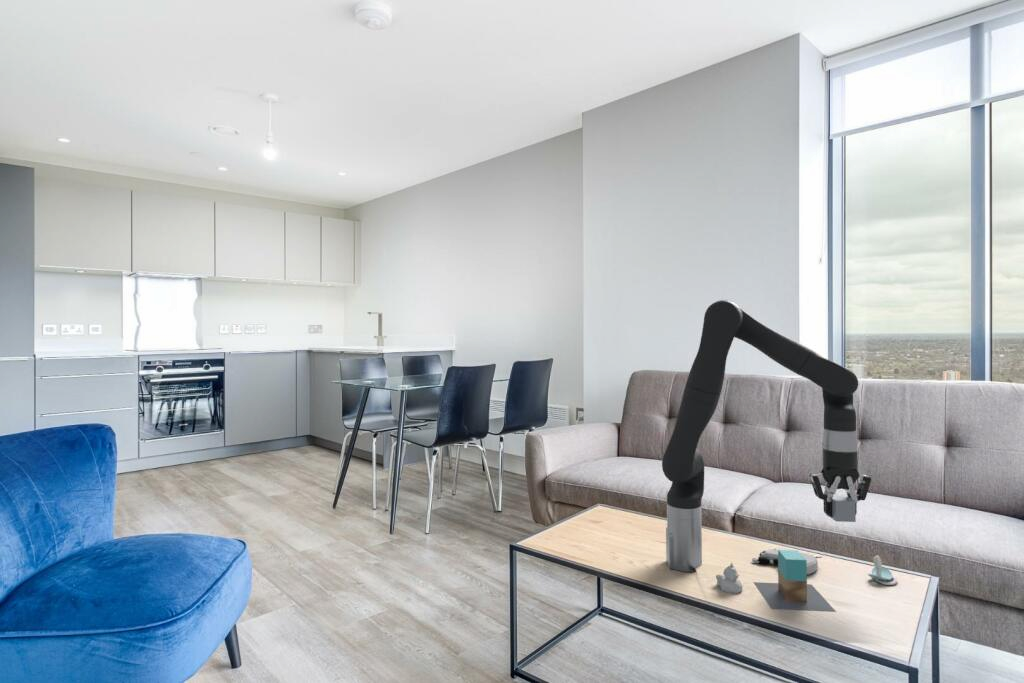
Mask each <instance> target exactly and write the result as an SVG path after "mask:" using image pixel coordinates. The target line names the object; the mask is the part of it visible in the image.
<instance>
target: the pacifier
mask: <svg viewBox="0 0 1024 683" xmlns="http://www.w3.org/2000/svg"><path fill="white" fill-rule="evenodd" d="M872 561H873V565H874V566H875V567H873V568H872V569H871V574H869V573H868V574H867V575H868V576H869V577H871V578H874V581H875V580H876V581H875V582H877V581H878V582H877V583H879V584H882V585H885V586H894V585H896V584H898V579H897V578H896V577H895V576H893V574H892V571H891V570H890V569H888V568H887V567H885V566H883V564H882V559H881V557H880V556H879V555H875V556H873V560H872ZM892 579H893V580H892ZM890 580H892V581H890ZM885 581H886V582H885Z"/></svg>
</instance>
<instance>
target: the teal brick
mask: <svg viewBox="0 0 1024 683" xmlns="http://www.w3.org/2000/svg"><path fill="white" fill-rule="evenodd" d="M777 550H778V566H777V567H778V568H777V571H778V570H779V571H780V573H781V574H782V575H783V577H784V578H785V579H786V580H789V581H807V582H808V579H807V578H808V575H807V560H806V559H805V558H804V557H803V556H802V555H801V554H800V553H801V552H800V553H799V550H798V549H797V550H794V549H777Z"/></svg>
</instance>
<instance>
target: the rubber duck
mask: <svg viewBox="0 0 1024 683" xmlns="http://www.w3.org/2000/svg"><path fill="white" fill-rule="evenodd" d="M724 568H725V567H724ZM739 576H740V574H739V573H738V571H737V570H736V567H735V566H734V564H733V562H731V563H730V564H729V565H728V566H727V567H726V568H725V569H724V570H723V574H721V573H719V574H718V573H717V574H716V575H715V578H716V580H717V581H716V585H717V586H719V587H720V589H721V591H722V592H726V593H731V594H739V593H742V591H743V585H742V582H741V580H740V579H739Z"/></svg>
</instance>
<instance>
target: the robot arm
mask: <svg viewBox="0 0 1024 683" xmlns="http://www.w3.org/2000/svg"><path fill="white" fill-rule="evenodd" d="M702 324H703V325H702V329H701V330H702V331H701V337H700V341H699V347H698V350H697V352H696V356H695V358H694V360H693V363H692V364H691V368H690V369H689V370H690V371H689V373H688V375H687V376H688V377H687V380H686V382H685V386H684V389H683V393H682V395H681V402H680V405H679V409H678V412H677V416H676V420H675V424H674V428H673V431H672V433H671V437H670V438H669V441H668V444H667V447H666V449H665V452H664V454H663V455H662V460H661V468H662V472H663V474H664V476H665V477H666V478H667V480H668V481H670V482H672V483H671V486H670V488H669V490H668V491H667V493H666V522H667V523H666V526H667V527H665V544H666V545H665V550H666V552H665V553H666V554H665V555H666V556H665V558H666V563H667V566H668V568H669V569H670V570H676V571H680V572H684V573H686V572H688V573H691V572H697V569H696V568H700V567H701V566H702V565H703V543H702V542H703V540H702V534H703V533H702V531H703V530H702V528H703V527H702V524H703V522H702V500H703V496H704V493H705V492H704V491H705V462H704V458H703V455H702V453H701V452H700V451H699V450H698V448H697V447H698V444H699V442H700V438H701V437H702V434H703V433H704V431H705V429H706V428H707V426H708V424H709V423H710V421H711V419H712V418H713V415H714V414H715V412H716V409H717V407H718V404H719V400H720V397H721V394H722V390H723V386H724V380H725V374H726V364H727V359H728V355H729V351H730V349H731V347H732V344H733V341H734V339H738V340H741V341H743V342H744V343H747V344H749V345H750V346H752V347H754V348H755V349H756V350H758V351H760V352H761V353H762V354H764V355H765V356H766V357H768V358H769V359H771V360H773V361H774V362H775V363H777V364H778V365H780V366H782V367H784V368H785V369H787V370H789V371H791V372H792V373H795V374H797V375H798V376H801V377H802V378H804V379H808V380H809V381H811V382H812V383H814V384H815V385H817V386H819V387H820V388H821V389H822V390H821V391H822V398H823V406H824V407H823V431H822V432H823V433H822V442H821V446H822V468H821V472H819V473H816V474H814V473H810V474H809V478H810V482H811V486H812V489H813V492H814V494H815V497H818V499H819V500H822V501H823V512H824V514H825V513H826V516H827V517H829V518H831V517H832V502H831V501H832V498H833V495H834V494H836V493H837V490H840V489H842V490H844V491H845V493H846V496H847V497H849V498H851V499H852V500H854V501H856V514H858V510H857V508H858V507H857V506H858V504H857V503H858V502H861V501H865V500H866V498H867V495H868V492H869V489H870V486H871V482H872V478H871V477H870V476H868V475H866V474H861V473H859V471H858V467H859V466H858V465H859V463H858V462H859V461H858V460H859V459H858V448H859V447H858V435H857V413H856V412H857V411H856V409H855V407H854V393H855V392H856V391H857V390H858V387H859V379H858V377H857V375H856V374H855V373H854V371H852V370H851V369H848V368H847V367H845V366H843V365H841V364H838V363H837V362H835V361H832V360H830V359H828V358H826V357H824V356H823V355H820V353H817V352H816V351H815V350H812V349H811V348H809V347H808V346H806V345H804V344H802V343H800V342H798V341H796V340H794V339H792V338H790V337H788V336H786V335H784V334H782V333H780V332H778V331H776V330H774V329H772V328H770V327H769V326H766V325H765V324H763V323H762V322H760V321H758V320H757V319H755V318H754V317H752V316H751V315H750V314H748V313H747V312H746V311H744V310H743V308H741V307H740V306H739V305H738V304H737V303H736V302H734V301H732V300H729V299H721V300H720V299H719V300H717V301H715V302H713V303H711V304H710V305H709V306H708V307H707V308H706V310H705V312H704V317H703V323H702ZM822 479H823V480H824V481H825V482H826V483H825V485H824V491H823V489H822V486H821V483H822V481H823V480H822ZM857 480H858V486H857V490H856V488H855V486H854V484H856V482H857Z"/></svg>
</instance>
